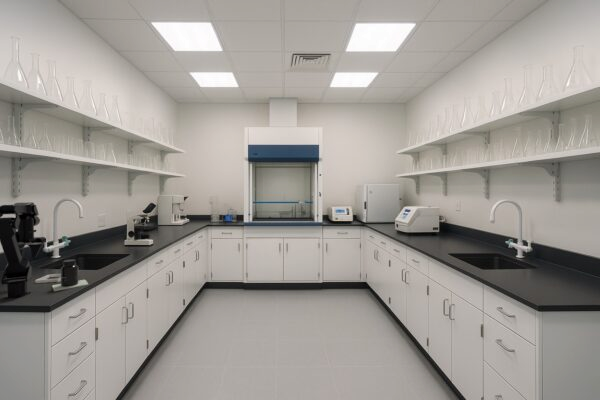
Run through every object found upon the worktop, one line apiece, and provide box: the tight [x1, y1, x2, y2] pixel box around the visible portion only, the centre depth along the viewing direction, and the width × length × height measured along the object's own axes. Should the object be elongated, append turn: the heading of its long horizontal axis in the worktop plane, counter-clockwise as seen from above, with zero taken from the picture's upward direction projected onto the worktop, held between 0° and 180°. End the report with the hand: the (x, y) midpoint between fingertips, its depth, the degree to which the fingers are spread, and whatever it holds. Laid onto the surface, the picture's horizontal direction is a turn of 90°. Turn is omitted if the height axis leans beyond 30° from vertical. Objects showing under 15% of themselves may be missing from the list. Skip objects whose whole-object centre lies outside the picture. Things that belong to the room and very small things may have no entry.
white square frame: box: [35, 273, 61, 284], centre depth 152 cm, size 10×10×2 cm
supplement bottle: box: [60, 259, 79, 287], centre depth 141 cm, size 7×7×12 cm
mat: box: [51, 279, 89, 292], centre depth 142 cm, size 13×10×1 cm
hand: (26, 260), depth 139 cm, fingers open, 9 cm apart
